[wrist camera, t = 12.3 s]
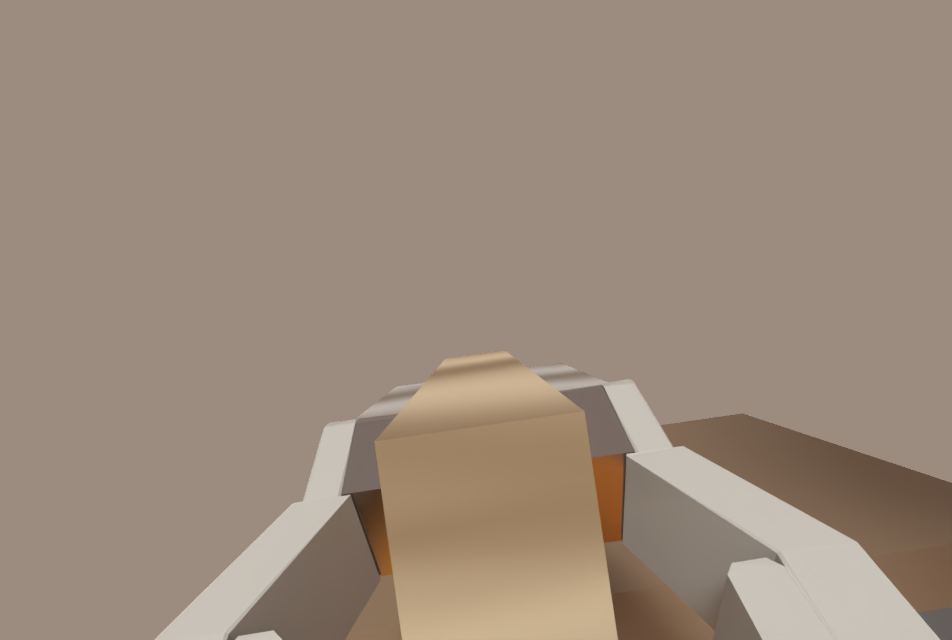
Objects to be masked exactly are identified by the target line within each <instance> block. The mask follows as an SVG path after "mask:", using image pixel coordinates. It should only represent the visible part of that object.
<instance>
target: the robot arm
mask: <svg viewBox="0 0 952 640" xmlns="http://www.w3.org/2000/svg"><path fill="white" fill-rule="evenodd" d="M559 392H560V393H561V394H563V395H564V396H565V397H567V398H568V399H569V400H571V401H572V402H573V403H575V404H576V405H577V406H578V407H580V408H581V409H582V410H584V411H585V417H586V424H587V431H588V438H589V445H590V452H591V459H592V465H593V472H594V479H595V486H596V493H597V500H598V507H599V514H600V520H601V527H602V534H603V541H604V543H606V542H615V541H623V544H624V545H625V546H626V547H627V548H628V549H629V550H630V551H631V552H632V553H633V554H634V555H635V556H636V557H638V558H639V559H640V560H641V561H642V562H643V563H644V564H645V565H646V566H647V567H648V568H649V569H650V570H651V571H652V572H653V573H654V574H655V575H657V576H658V577H659V578H660V579H661V580H662V581H663V582H664V583H665V584H666V585H667V586H668V587H669V588H670V589H671V590H672V591H673V592H675V593H676V594H677V595H678V596H679V597H680V598H681V599H682V600H683V601H684V602H685V603H686V604H687V605H688V606H689V607H690V608H691V609H693V610H694V611H695V612H696V613H697V614H698V615H699V616H700V617H701V618H702V619H703V620H704V621H705V622H706V623H707V624H708V625H709V626H710V627H712V628H713V629H714V630H715V633H714V637H713V640H940V639H939V638H938V636H937V635H936V634H935V633H934V632H933V631H932V629H931V628H930V627H929V626H928V625H927V624H926V622H925V621H924V620H923V619H922V618H921V616H920V615H919V614H918V613H917V612H916V611H915V609H914V608H913V607H912V606H911V605H910V604H909V602H908V601H907V600H906V599H905V598H904V597H903V595H902V594H901V593H900V592H899V591H898V589H897V588H896V587H895V586H894V585H893V584H892V582H891V581H890V580H889V579H888V578H887V577H886V575H885V574H884V573H883V572H882V571H881V570H880V568H879V567H878V566H877V565H876V564H875V562H874V561H873V560H872V559H871V558H870V557H869V555H868V554H867V553H866V552H865V551H864V550H863V548H862V547H861V546H860V545H859V544H858V543H857V542H856V541H854V540H853V539H851V538H849V537H847V536H845V535H844V534H842V533H840V532H838V531H836V530H835V529H833V528H831V527H829V526H827V525H825V524H824V523H822V522H820V521H818V520H816V519H815V518H813V517H811V516H809V515H807V514H806V513H804V512H802V511H800V510H798V509H797V508H795V507H793V506H791V505H789V504H787V503H786V502H784V501H782V500H780V499H778V498H777V497H775V496H773V495H771V494H769V493H768V492H766V491H764V490H762V489H760V488H758V487H757V486H755V485H753V484H751V483H749V482H748V481H746V480H744V479H742V478H740V477H739V476H737V475H735V474H733V473H731V472H730V471H728V470H726V469H724V468H722V467H720V466H719V465H717V464H715V463H713V462H711V461H710V460H708V459H706V458H704V457H702V456H701V455H699V454H697V453H695V452H693V451H691V450H690V449H688V448H686V447H684V446H680V447H673V445H672V444H671V442H670V440H669V439H668V437H667V435H666V434H665V432H664V431H663V429H662V427H661V426H660V424H659V422H658V421H657V419H656V417H655V416H654V414H653V412H652V411H651V409H650V408H649V406H648V404H647V403H646V401H645V399H644V398H643V396H642V394H641V393H640V391H639V389H638V388H637V386H636V384H635V383H634V382H633V381H631V380H630V379H626V380H621V381H614V382H608V383H603V384H600V385H595V386H589V387H582V388H575V389H569V390H562V391H559ZM397 415H398V414H392V415H384V416H376V417H368V418H360V419H358V420H357V419H355V420H347V421H340V422H332V423H328V424H327V426H326V427H325V428H324V429H323V433H322V436H321V439H320V443H319V446H318V451H317V453H316V457H315V460H314V464H313V467H312V470H311V474H310V477H309V481H308V484H307V488H306V491H305V495H304V498H303V502H298V503H293V504H292V505H291V506H290V507H289V508H287V509H286V510H285V511H284V512H283V513H282V514H281V515H280V516H279V518H277V519H276V520H275V521H274V522H273V523H272V524H271V525H270V526H269V527H268V528H267V529H266V530H265V531H264V532H263V533H262V534H261V535H260V536H259V537H258V538H257V539H256V540H255V541H254V542H253V543H252V544H251V545H250V546H249V547H248V548H247V549H246V550H245V551H244V552H243V553H242V554H241V555H240V556H239V557H238V558H237V559H236V560H235V561H234V562H233V563H232V564H231V565H230V566H229V567H228V568H227V569H226V570H224V572H222V573H221V574H220V575H219V576H218V577H217V579H215V580H214V581H213V582H212V583H211V584H210V585H209V586H208V587H207V588H206V589H205V590H204V591H203V592H202V593H201V594H200V595H199V596H198V597H197V598H196V599H195V600H194V601H193V602H192V603H191V604H190V605H189V606H188V607H187V608H186V609H185V610H184V611H183V612H182V613H181V614H180V615H179V616H178V617H177V618H176V619H175V620H174V621H173V622H172V623H171V624H170V625H169V626H168V627H167V628H166V629H165V630H164V631H163V632H162V633H160V634H159V635H158V637H157V638H155V639H154V640H345V639H346V637H347V635H348V634H349V632H350V630H351V629H352V627H353V625H354V624H355V622H356V620H357V619H358V617H359V615H360V614H361V612H362V610H363V609H364V607H365V605H366V604H367V602H368V600H369V599H370V597H371V595H372V594H373V592H374V590H375V589H376V587H377V585H378V584H379V582H380V580H381V579H380V576H385V575H391V574H393V572H392V565H391V557H390V550H389V543H388V536H387V529H386V522H385V515H384V507H383V500H382V493H381V486H380V479H379V472H378V465H377V458H376V450H375V443H374V441H375V440H376V439H377V438H378V437H379V436H380V434H381V433H382V432H383V431H384V430H385V429H386V427H387V426H388V425H389V424H390V423H391V422H392V420H393V419H394V418H395V417H396V416H397Z"/></svg>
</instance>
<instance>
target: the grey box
mask: <svg viewBox="0 0 952 640" xmlns="http://www.w3.org/2000/svg"><path fill="white" fill-rule="evenodd" d="M660 426H661V427H662V429H663V431H664V432H665V434H666V435H667V437H668V439H669V440H670V442H671V444H672V445H673V447H680V446H684V447H686V448H688V449H690V450H691V451H693V452H695V453H697V454H699V455H701V456H702V457H704V458H706V459H708V460H710V461H711V462H713V463H715V464H717V465H719V466H720V467H722V468H724V469H726V470H728V471H730V472H731V473H733V474H735V475H737V476H739V477H740V478H742V479H744V480H746V481H748V482H749V483H751V484H753V485H755V486H757V487H758V488H760V489H762V490H764V491H766V492H768V493H769V494H771V495H773V496H775V497H777V498H778V499H780V500H782V501H784V502H786V503H787V504H789V505H791V506H793V507H795V508H797V509H798V510H800V511H802V512H804V513H806V514H807V515H809V516H811V517H813V518H815V519H816V520H818V521H820V522H822V523H824V524H825V525H827V526H829V527H831V528H833V529H835V530H836V531H838V532H840V533H842V534H844V535H845V536H847V537H849V538H851V539H853V540H854V541H856V542H857V543H858V544H859V545H860V546H861V547H862V548H863V550H864V551H865V552H866V553H867V554H868V555H869V557H870V558H871V559H872V560H873V561H874V562H875V564H876V565H877V566H878V567H879V568H880V570H881V571H882V572H883V573H884V574H885V575H886V577H887V578H888V579H889V580H890V581H891V582H892V584H893V585H894V586H895V587H896V588H897V589H898V591H899V592H900V593H901V594H902V595H903V597H904V598H905V599H906V600H907V601H908V602H909V604H910V605H911V606H912V607H913V608H914V609H915V611H916V612H917V613H918V614H919V615H920V616H921V618H922V619H923V620H924V621H925V622H926V624H927V625H928V626H929V627H930V628H931V629H932V631H933V632H934V633H935V634H936V635H937V636H938V638H939V639H940V640H952V483H950V482H947V481H944V480H941V479H938V478H935V477H932V476H929V475H926V474H923V473H920V472H917V471H914V470H911V469H908V468H905V467H902V466H899V465H896V464H893V463H890V462H886V461H884V460H880V459H878V458H875V457H871V456H869V455H866V454H862V453H860V452H857V451H853V450H851V449H848V448H845V447H842V446H839V445H836V444H833V443H829V442H826V441H823V440H820V439H817V438H814V437H811V436H808V435H805V434H802V433H799V432H796V431H793V430H790V429H787V428H784V427H781V426H778V425H775V424H772V423H769V422H766V421H763V420H760V419H757V418H754V417H751V416H748V415H745V414H737V415H730V416H723V417H716V418H709V419H702V420H696V421H688V422H681V423H675V424H667V425H660ZM604 548H605V555H606V562H607V568H608V575H609V582H610V589H611V596H612V603H613V610H614V617H615V623H616V630H617V637H618V640H713V637H714V633H715V630H714V629H713V628H712V627H710V626H709V625H708V624H707V623H706V622H705V621H704V620H703V619H702V618H701V617H700V616H699V615H698V614H697V613H696V612H695V611H694V610H693V609H691V608H690V607H689V606H688V605H687V604H686V603H685V602H684V601H683V600H682V599H681V598H680V597H679V596H678V595H677V594H676V593H675V592H673V591H672V590H671V589H670V588H669V587H668V586H667V585H666V584H665V583H664V582H663V581H662V580H661V579H660V578H659V577H658V576H657V575H655V574H654V573H653V572H652V571H651V570H650V569H649V568H648V567H647V566H646V565H645V564H644V563H643V562H642V561H641V560H640V559H639V558H638V557H636V556H635V555H634V554H633V553H632V552H631V551H630V550H629V549H628V548H627V547H626V546H625V545H624V544H623V541H615V542H606V543H604ZM380 579H381V580H380V582H379V584H378V585H377V587H376V589H375V590H374V592H373V594H372V595H371V597H370V599H369V600H368V602H367V604H366V605H365V607H364V609H363V610H362V612H361V614H360V615H359V617H358V619H357V620H356V622H355V624H354V625H353V627H352V629H351V630H350V632H349V634H348V635H347V637H346V639H345V640H402V636H401V629H400V622H399V614H398V607H397V600H396V593H395V586H394V579H393V574H391V575H385V576H380Z"/></svg>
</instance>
